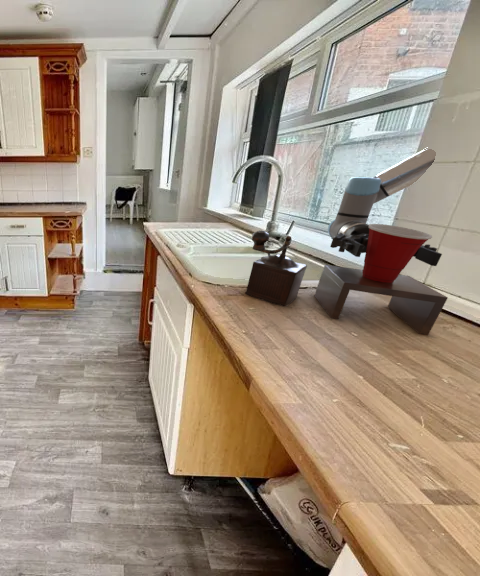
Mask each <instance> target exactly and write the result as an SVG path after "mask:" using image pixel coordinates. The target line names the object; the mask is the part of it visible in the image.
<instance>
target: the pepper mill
mask: <svg viewBox="0 0 480 576" xmlns="http://www.w3.org/2000/svg"><path fill="white" fill-rule="evenodd" d="M251 240H252V242H253V245H252V250H254V251H256V252H261V253H264V254H267V256H266V255H265V256H261V257H260V258H258V259H257V260H255V261H253V262H252V267H251V271H250V274H249V278H248V281H247V286H246V290H245V291H244V294H245V295H247V296H249V297H252V298H254V299H257V300H261V301H263V302H267V303H270V304H273V305H276V306H277V305H278V306H281V307H288V306H289V305H290V304H291V303H292V302H293V301H295V300H296V298H297V297H298V294H299V291H300V288H301V285H302V282H303V279H304V276H305V273H306V270H307V267H308V265H307V264H305V263H301V262H295V261H294V259H292V258H291V257H288V256H287V255H286V253H287V250H288V247H289V246H290V244H291V241H292V236H291V235H286V237H285V238H284V241H283V243H282V245H281V246H280V247H279V248H277V249H267V248H266V246H265V244H266V242H268V241H269V240H270V234H269V232H266V231H265V230H257V231H254V232H253V233H252V234H251ZM280 252H281V253H280Z"/></svg>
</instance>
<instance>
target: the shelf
mask: <svg viewBox="0 0 480 576" xmlns="http://www.w3.org/2000/svg"><path fill="white" fill-rule="evenodd" d="M350 291H354V292H362V293H368V294H375V295H382V296H388V297H390V300H389V303H388V305H387V308H388V310H390V311H391V312H393V314H395V315H396V316H397V317H398V318H399V319H401V320H402V321H403V322H405V323H406V325H408V326H410V328H412V329H413V330H414V331H415V332H417V333H418V334H419V335H425V336H429V335H430V333H431V330H432V329H433V327H434V325H435V324H436V321H437V320H438V317H439V316H440V313H442V310H443V308H444V306H445V304H446V302H447V301H448V299H449V297H448V296H446V295H444V294H442V293H440V292H439V291H437V290H435V289H434V288H432V287H430V286H428V285H427V284H425V283H423V282H421V281H420V280H417V279H415V278H414V277H412V276H411V275H406V274H399V275H398V277H397V278H396V280H394V282H392V283H385V282H379V281H374V280H371V279H368V278H365V277H363V269H361V268H360V269H359V268H352V267H344V266H338V265H329V264H324V267H323V269H322V272H321V275H320V278H319V280H318V284H317V286H316V289H315V292H314V297H315V299H316V300H317V301H318V303H319V304H320V305H321V307H322V308H323V309H324V310H325V312H326V313H327V315H328V317H329V318H331V319H335V320H339V319H340V316H341V313H342V312H343V309H344V306H345V304H346V301H347V298H348V297H349V293H350Z"/></svg>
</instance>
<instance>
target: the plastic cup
mask: <svg viewBox="0 0 480 576" xmlns="http://www.w3.org/2000/svg"><path fill="white" fill-rule="evenodd" d="M368 224H369V227H368V228H370V229H369V237H368V244H367V249H366V253H364V261H363V268H362V270H363V277H365V278H368V279H371V280H374V281H379V282H385V283H392V282H394V280H396V278H397V277H398V275H401V273H402V271H403V270H404V269H405V268H406V267H407V265H408V264H409V263H410V261H411V260H412V259H413V256H414V254H415V253H416V251H417V250H418V249H419V248H420V247H421V246H422V245H425V243H426V242H427V241H429V240H431V239H432V238H433V235H432V234H429V233H428V232H425V231H420V230H417V229H413V228H408V227H403V226H397V225H391V224H384V223H368Z"/></svg>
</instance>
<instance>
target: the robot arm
mask: <svg viewBox="0 0 480 576" xmlns="http://www.w3.org/2000/svg"><path fill="white" fill-rule="evenodd" d="M425 149H426V148H425ZM435 156H436V152H435V151H434V150H432V149H426V150H424V149H423V150H421V151H419V152H417V153H416V154H413V155H412V156H409V157H407V158H406V159H404V160H402V161H400V162H399V163H397V164H395V165H393V166H391V167H389V168H387V169H386V170H383V171H381V172H380V173H378V174H377V175H375V176H373V177H364V176H352V177H350V178H349V180H348V182H347V184H346V187H344V193H343V195H342V198H341V202H340V205H339V207H338V211H337V213H336V215H335V219H333V220H332V221H331V222H330V223H329V225H328V227H327V233H328V235H329V237H330V238H331V243H330V248H331V249H337V248H338V247H339V248H338V252H339V253H345V252H347V253H349V254H351V255H352V256H354V257H356V258H360V257H361V254H366V249H367V244H368V237H369V229H370V228H368V227H369V224H370V223H367V222H368V219H369V217H370V213H371V211H372V209H373V206H374V205H375V204H377V203H378V202H380V201H383V200H384V199H387V198H388V197H390V196H392V195H394V194H397V193H399V192H400V191H402V190H405V189H406V188H408V187H410V185H411V186H412V184H413V183H414V182H416V181H417V180H418V179H419V178H420V177H421V176H422V175H423V174H424V173H425V172H426V170H427V169H428V168H429V167H430V166H431V165H432V163H433V162H434V160H435ZM413 185H414V184H413ZM404 188H405V189H404ZM437 250H438V247H433V246H431V244H429V243H428V244H423V245H422V246H421V247H420V248H419V249H418V250H417V251H416V253H415V254H414V256H413V257H414V259H415V260H419V262H422V263H424V264H426V265H430V266H432V267H437V266H438V263H440V262H439V261H440V259H441V258H442V255H443V254H442V253H441V252H438V251H437ZM413 257H412V258H413Z"/></svg>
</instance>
